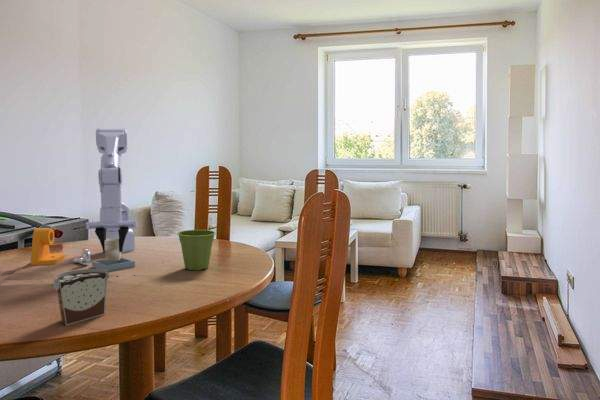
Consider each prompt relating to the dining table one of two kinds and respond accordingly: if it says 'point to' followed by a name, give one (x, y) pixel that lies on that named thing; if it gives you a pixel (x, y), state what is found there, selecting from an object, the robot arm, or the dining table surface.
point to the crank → (83, 257)
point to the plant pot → (196, 248)
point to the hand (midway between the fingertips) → (113, 251)
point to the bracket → (44, 248)
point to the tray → (113, 264)
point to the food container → (81, 294)
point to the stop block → (112, 249)
